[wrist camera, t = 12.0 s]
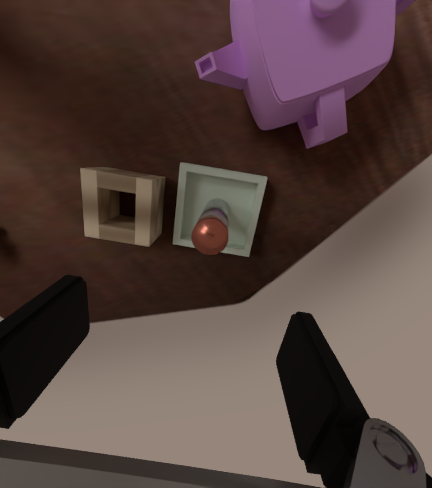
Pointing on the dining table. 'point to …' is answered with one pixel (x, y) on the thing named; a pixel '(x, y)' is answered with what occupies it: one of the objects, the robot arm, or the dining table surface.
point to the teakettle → (304, 59)
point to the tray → (223, 187)
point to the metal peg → (212, 228)
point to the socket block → (108, 205)
